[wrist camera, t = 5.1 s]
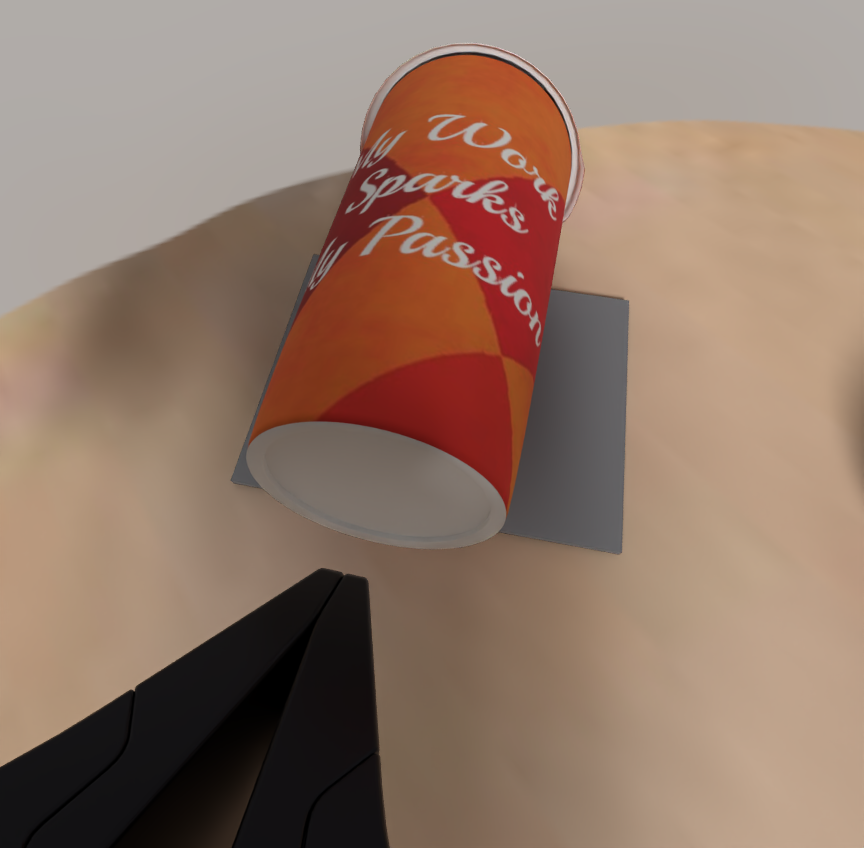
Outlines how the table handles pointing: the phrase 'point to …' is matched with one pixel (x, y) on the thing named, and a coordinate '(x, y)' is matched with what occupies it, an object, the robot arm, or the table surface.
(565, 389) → the mat
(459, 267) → the paper cup
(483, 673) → the table surface
